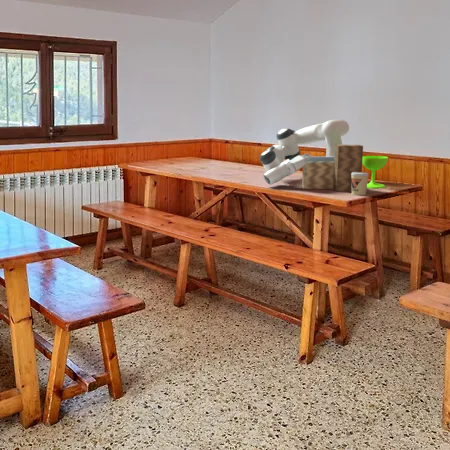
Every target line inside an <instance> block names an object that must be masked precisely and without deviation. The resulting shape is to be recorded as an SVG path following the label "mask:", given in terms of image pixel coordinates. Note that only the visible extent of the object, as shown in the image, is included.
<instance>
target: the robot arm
mask: <svg viewBox="0 0 450 450" xmlns="http://www.w3.org/2000/svg"><path fill="white" fill-rule="evenodd" d="M349 130H350V125H349V123H348V122H347V121H345V120H343V119H340V118H339V119H330V120H327V121H325V122H322V123H317V124H313V125H309V126H305V127H303V128H299V129H298V130H296V131H295V130H294V129H290V128H288V127H286V128H282V129H280V130H279V131H277V133H276V139H277V140H278V141H277V142H278V144H273V145H272V146H269V147H268V148H267V147H266V149H265V150H264V151H263V152H262V153H261V154H260V156H259V161H260V163H261V164H262V166H263V167H264V169H265V171H266V172H264V174H263V178H264V180H265V182H266V183H267V185H269V186H271V185H274V184H275V183H278V182H280V181H282V180H283V179H284V178H286V177H289V176H290V175H293V174H295V173H297V171H298V170H300V169H301V168H303V166H304V165H306V164H307V162H306V161H308V160H309V159H310V158H312V157H313V156H312V155H311V154H310V153H305V154H302V155H301V150H300V149H299V146H300V145H301V146H302V145H310V144H315V143H317V142H322V141H325V157H335V145H344V144H343V141H342V137H344V136H345V135H347V133H349ZM303 157H305V158H303Z"/></svg>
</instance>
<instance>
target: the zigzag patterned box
mask: <svg viewBox="0 0 450 450" xmlns="http://www.w3.org/2000/svg"><path fill="white" fill-rule="evenodd" d="M306 162H307V164H306V165H304V166H303V167H302V178H301V179H302V180H301V181H302V182H301V187H302V188H303V189H304V190H305V189H306V190H308V189H313V190H315V189H316V190H319V189H321V190H324V189H325V190H331V189H332V190H334V189H333V183H334V161H306Z"/></svg>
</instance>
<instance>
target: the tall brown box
mask: <svg viewBox="0 0 450 450" xmlns="http://www.w3.org/2000/svg"><path fill="white" fill-rule="evenodd" d="M363 156H364V145H361V144H343V145H335V161H334V183H333V189H332V190H334V191H335V192H352V181H351V176H352V175H351V174H352V172H363V164H362V159H363Z"/></svg>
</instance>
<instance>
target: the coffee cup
mask: <svg viewBox="0 0 450 450" xmlns="http://www.w3.org/2000/svg"><path fill="white" fill-rule="evenodd" d="M351 175H352V176H351V181H352V191H351V195H352V194H353V196H366V195H367V191H368V188H367V183H368V182H369V181H368V180H369V173H368V172H364V171H362V172H352V174H351Z"/></svg>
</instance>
